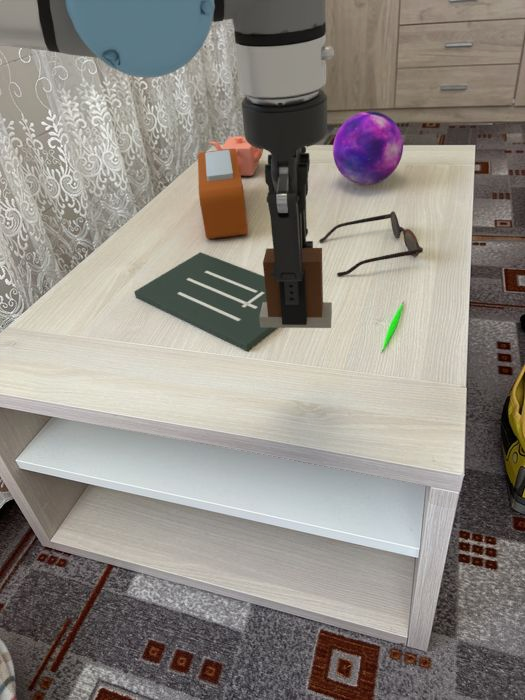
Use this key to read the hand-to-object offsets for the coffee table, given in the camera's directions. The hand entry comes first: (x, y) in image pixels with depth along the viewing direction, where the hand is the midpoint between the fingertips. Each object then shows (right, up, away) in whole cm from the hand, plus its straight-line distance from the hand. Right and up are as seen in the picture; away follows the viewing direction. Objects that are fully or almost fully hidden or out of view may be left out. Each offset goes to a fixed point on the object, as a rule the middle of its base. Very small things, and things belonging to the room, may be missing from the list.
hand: (295, 312), depth 63 cm
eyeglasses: (+15, +14, +38) cm, 43 cm away
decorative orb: (+20, +34, +62) cm, 73 cm away
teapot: (-9, +40, +74) cm, 84 cm away
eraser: (0, -1, +1) cm, 1 cm away
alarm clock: (-12, +25, +55) cm, 62 cm away
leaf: (+16, -1, +20) cm, 26 cm away
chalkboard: (-11, +4, +30) cm, 32 cm away
